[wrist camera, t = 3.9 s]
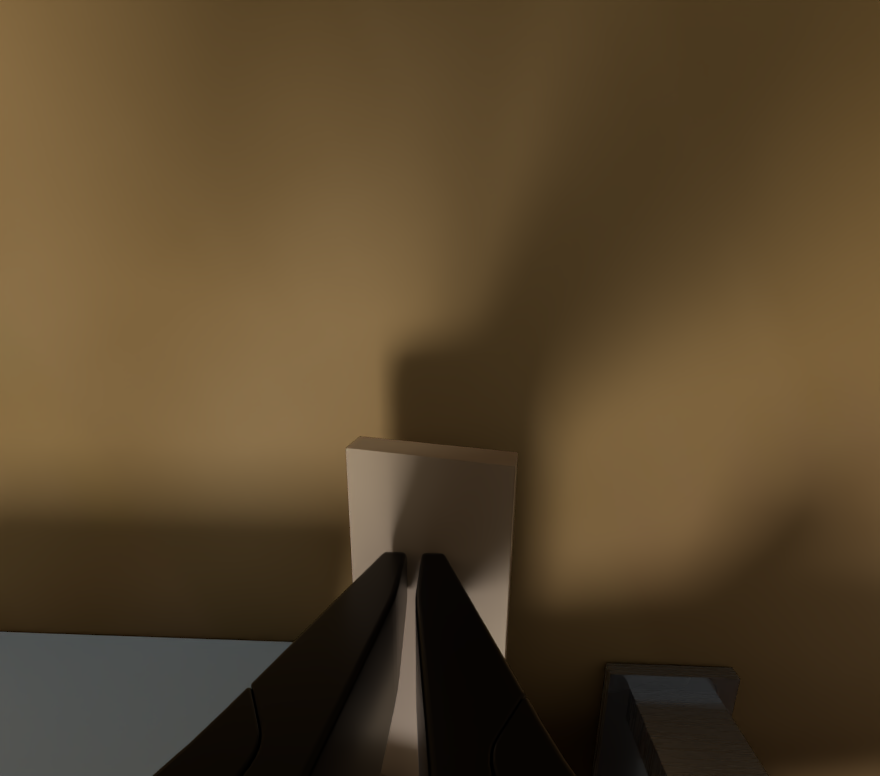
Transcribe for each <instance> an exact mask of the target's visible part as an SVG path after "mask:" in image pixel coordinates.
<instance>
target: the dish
mask: <svg viewBox="0 0 880 776" xmlns="http://www.w3.org/2000/svg"><path fill="white" fill-rule="evenodd" d="M292 643H293V642H275V641H247V640H218V639H190V638H162V637H133V636H105V635H77V634H48V633H20V632H0V776H152V775H153V774H154V773H156V772H157V771H158V770H159V769H160V768H161V767H162V766H164V765H165V764H166V763H167V762H168V761H169V760H170V759H172V758H173V757H174V756H175V755H176V754H177V753H178V752H180V751H181V750H182V749H183V748H184V747H185V746H186V745H188V744H189V743H190V742H191V741H192V740H193V739H194V738H195V737H196V736H197V735H198V734H199V733H200V732H201V731H203V730H204V729H205V728H206V727H207V726H208V725H209V724H210V723H211V722H212V721H213V720H214V719H215V718H216V717H217V716H218V715H219V714H220V713H222V712H223V711H224V710H225V709H226V708H227V707H228V706H229V705H230V704H231V703H232V702H233V701H234V700H235V699H236V698H237V697H238V696H239V695H240V694H241V693H242V692H243V691H244V690H245V689H246V688H248V687H249V688H251V684H252V682H253V681H254V680H255V679H256V678H257V677H258V676H259V675H260V674H261V673H262V672H263V671H264V670H265V669H266V668H267V667H268V666H270V665H271V664H272V663H273V662H274V661H275V660H276V659H277V658H278V657H279V656H280V655H281V654H282V653H283V652H284V651H285V650H286V649H287V648H288V647H289V646H290V645H291V644H292Z"/></svg>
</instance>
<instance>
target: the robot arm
mask: <svg viewBox="0 0 880 776" xmlns="http://www.w3.org/2000/svg"><path fill="white" fill-rule="evenodd" d="M406 607H407V556H406V554H405V553H404V552H384V553H383V554H382V555H381V556H380V557H379V558H378V559H377V560H376V561H375V562H374V563H373V564H372V565H371V566H370V567H369V568H368V569H366V570H365V571H364V572H363V573H362V574H361V575H360V576H359V577H358V578H357V579H356V580H355V581H354V582H353V583H352V584H351V585H350V586H349V587H348V588H347V589H346V590H345V591H344V592H343V593H342V594H341V595H340V596H339V597H338V598H337V599H336V600H335V601H334V602H333V603H332V604H331V605H330V606H329V607H328V608H327V609H326V610H325V611H324V612H323V613H322V614H321V615H320V616H319V617H318V618H317V619H316V620H315V621H314V622H313V623H312V624H311V625H310V626H309V627H308V628H307V629H306V630H305V631H304V632H303V633H302V634H301V635H300V636H299V637H298V638H297V639H296V640H295V641H294V642H293V643H292V644H291V645H290V646H289V647H288V648H287V649H286V650H285V651H284V652H283V653H282V654H281V655H280V656H279V657H278V658H277V659H276V660H275V661H274V662H273V663H272V664H271V665H270V666H268V667H267V668H266V669H265V670H264V671H263V672H262V673H261V674H260V675H259V676H258V677H257V678H256V679H255V680H254V681H253V682H252V684H251V688H249V687H248V688H246V689H245V690H244V691H243V692H242V693H241V694H240V695H239V696H238V697H237V698H236V699H235V700H234V701H233V702H232V703H231V704H230V705H229V706H228V707H227V708H226V709H225V710H224V711H223V712H222V713H220V714H219V715H218V716H217V717H216V718H215V719H214V720H213V721H212V722H211V723H210V724H209V725H208V726H207V727H206V728H205V729H204V730H203V731H201V732H200V733H199V734H198V735H197V736H196V737H195V738H194V739H193V740H192V741H191V742H190V743H189V744H188V745H186V746H185V747H184V748H183V749H182V750H181V751H180V752H178V753H177V754H176V755H175V756H174V757H173V758H172V759H170V760H169V761H168V762H167V763H166V764H165V765H164V766H162V767H161V768H160V769H159V770H158V771H157V772H156V773H154V774H153V775H152V776H380V774H381V769H382V764H383V759H384V755H385V750H386V745H387V741H388V736H389V731H390V726H391V722H392V717H393V712H394V708H395V702H396V697H397V691H398V684H399V677H400V667H401V657H402V647H403V637H404V627H405V617H406ZM415 627H416V713H417V737H418V761H419V776H576V775H575V773H574V772H573V771H572V769H571V768H570V766H569V765H568V763H567V762H566V761H565V759H564V757H563V756H562V754H561V752H560V751H559V749H558V748H557V746H556V744H555V743H554V741H553V740H552V738H551V736H550V735H549V733H548V732H547V730H546V728H545V727H544V725H543V723H542V722H541V720H540V718H539V717H538V715H537V713H536V711H535V710H534V708H533V706H532V704H531V703H530V701H529V699H528V698H526V696H525V693H524V691H523V689H522V688H521V686H520V684H519V682H518V681H517V679H516V677H515V675H514V674H513V672H512V670H511V669H510V667H509V665H508V663H507V662H506V660H505V658H504V656H503V655H502V653H501V651H500V649H499V648H498V646H497V644H496V643H495V641H494V639H493V637H492V636H491V634H490V632H489V630H488V629H487V627H486V625H485V623H484V622H483V620H482V618H481V617H480V615H479V613H478V611H477V610H476V608H475V606H474V604H473V603H472V601H471V599H470V597H469V596H468V594H467V592H466V591H465V589H464V587H463V585H462V584H461V582H460V580H459V578H458V577H457V575H456V573H455V572H454V570H453V568H452V566H451V565H450V563H449V561H448V559H447V558H446V556H445V555H444V554H442V553H424V554H423V555H422V557H421V563H420V569H419V576H418V582H417V588H416V596H415Z"/></svg>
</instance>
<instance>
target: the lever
mask: <svg viewBox="0 0 880 776" xmlns="http://www.w3.org/2000/svg"><path fill="white" fill-rule="evenodd" d="M346 461H347V480H348V500H349V519H350V538H351V558H352V577H353V582H354V581H355V580H356V579H357V578H358V577H359V576H360V575H361V574H362V573H363V572H364V571H365V570H366V569H368V568H369V567H370V566H371V565H372V564H373V563H374V562H375V561H376V560H377V559H378V558H379V557H380V556H381V555H382V554H383V553H384V552H404V553H405V554H406V556H407V607H406V617H405V627H404V637H403V647H402V657H401V667H400V677H399V684H398V691H397V697H396V702H395V708H394V712H393V717H392V722H391V726H390V731H389V736H388V741H387V745H386V750H385V755H384V759H383V764H382V769H381V774H380V776H419V761H418V737H417V713H416V627H415V596H416V588H417V582H418V576H419V569H420V563H421V557H422V555H423V554H424V553H442V554H444V555H445V556H446V558H447V559H448V561H449V563H450V565H451V566H452V568H453V570H454V572H455V573H456V575H457V577H458V578H459V580H460V582H461V584H462V585H463V587H464V589H465V591H466V592H467V594H468V596H469V597H470V599H471V601H472V603H473V604H474V606H475V608H476V610H477V611H478V613H479V615H480V617H481V618H482V620H483V622H484V623H485V625H486V627H487V629H488V630H489V632H490V634H491V636H492V637H493V639H494V641H495V643H496V644H497V646H498V648H499V649H500V651H501V653H502V655H503V656H504V658H505V660H506V653H507V635H508V618H509V600H510V583H511V566H512V548H513V531H514V513H515V496H516V478H517V461H518V452H510V451H500V450H490V449H481V448H471V447H461V446H451V445H441V444H431V443H421V442H412V441H402V440H392V439H382V438H372V437H362V436H360V437H358V438H357V439H356V440H355V441H354V442H352V443H351V444H350V445H349V446H348V447H346Z"/></svg>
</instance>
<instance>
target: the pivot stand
mask: <svg viewBox="0 0 880 776" xmlns="http://www.w3.org/2000/svg"><path fill="white" fill-rule="evenodd" d="M739 682H740V678H739V677H738V675H737V674H736V672H735V671H734V670H733V668H725V667H697V666H670V665H642V664H614V663H606V670H605V678H604V685H603V693H602V701H601V708H600V716H599V724H598V731H597V739H596V746H595V754H594V762H593V769H592V776H768V775H767V773H766V771H765V770H764V768H763V767H762V765H761V763H760V762H759V760H758V759H757V757H756V755H755V754H754V752H753V751H752V749H751V747H750V746H749V744H748V743H747V741H746V739H745V738H744V736H743V735H742V733H741V731H740V730H739V728H738V727H737V725H736V723H735V722H734V720H733V719H732V713H733V708H734V704H735V700H736V695H737V691H738V687H739Z"/></svg>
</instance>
